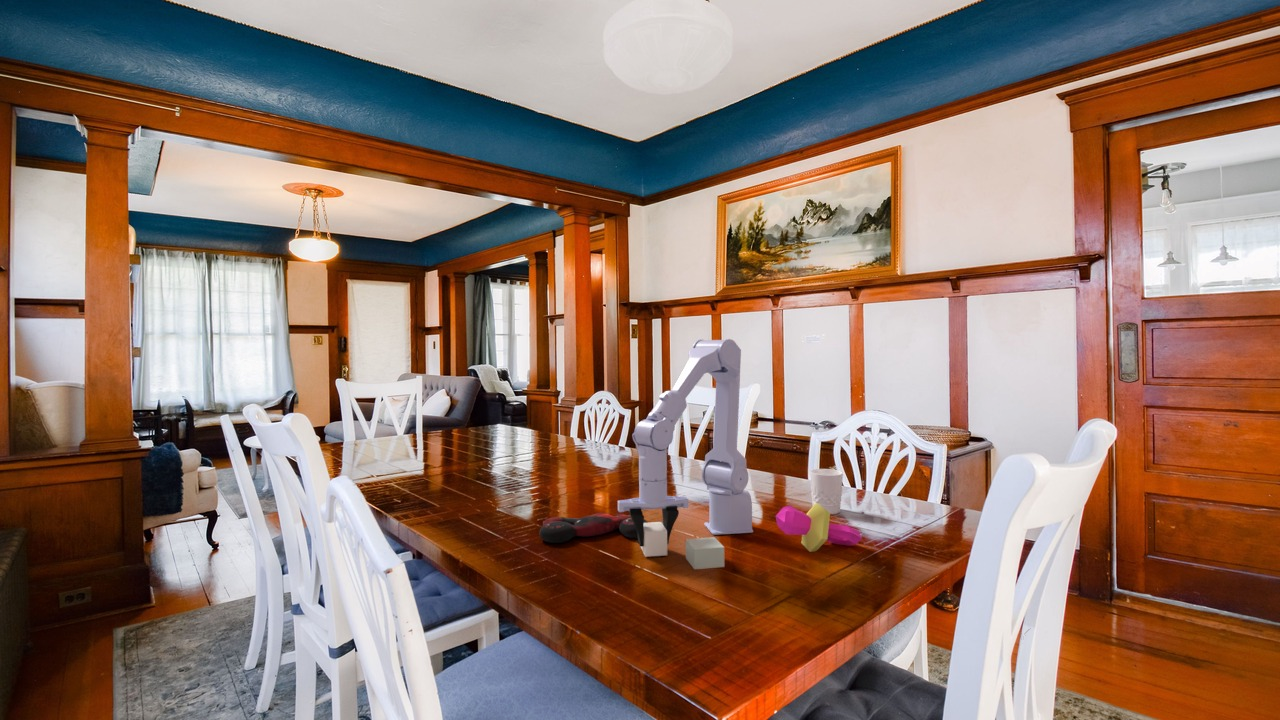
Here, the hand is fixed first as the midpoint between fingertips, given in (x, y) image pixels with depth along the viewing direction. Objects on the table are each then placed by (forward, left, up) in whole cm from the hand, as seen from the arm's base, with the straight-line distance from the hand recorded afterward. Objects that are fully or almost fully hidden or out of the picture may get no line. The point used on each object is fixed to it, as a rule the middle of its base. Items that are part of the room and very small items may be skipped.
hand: (653, 543), depth 120 cm
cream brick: (0, 0, -1) cm, 1 cm away
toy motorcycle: (+11, -16, -2) cm, 19 cm away
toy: (-34, +3, -2) cm, 34 cm away
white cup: (-49, -22, -2) cm, 54 cm away
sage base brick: (-9, +7, -2) cm, 12 cm away
